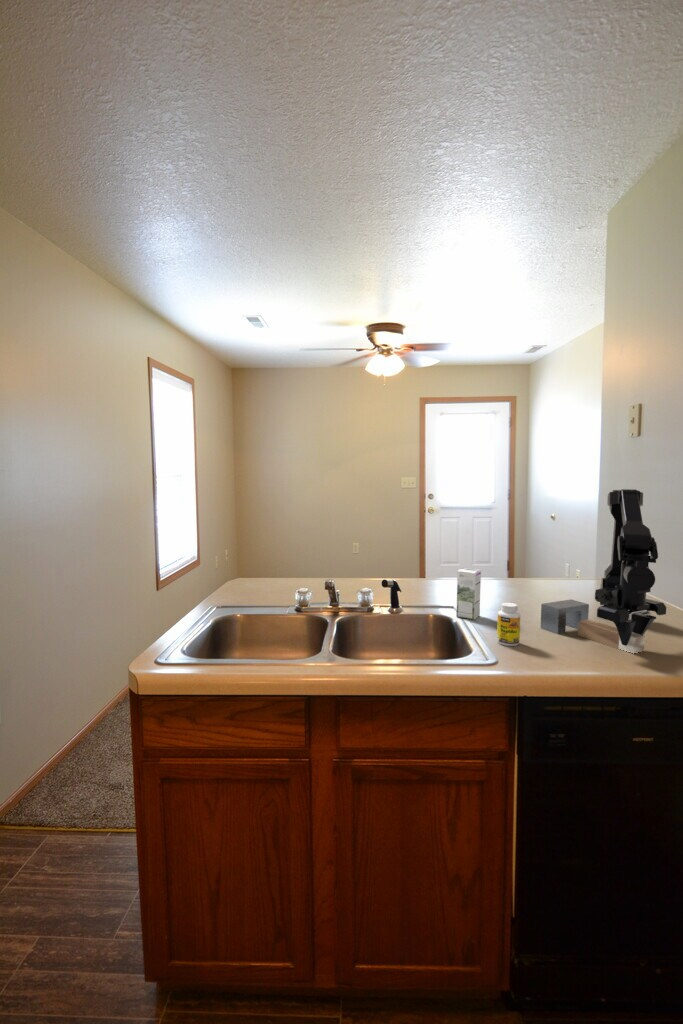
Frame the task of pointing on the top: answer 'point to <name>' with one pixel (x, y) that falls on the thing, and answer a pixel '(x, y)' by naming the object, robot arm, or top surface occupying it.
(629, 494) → the robot arm
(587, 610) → the grey u-shaped block
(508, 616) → the supplement bottle
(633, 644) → the plug rod
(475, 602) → the syrup box
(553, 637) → the top surface
